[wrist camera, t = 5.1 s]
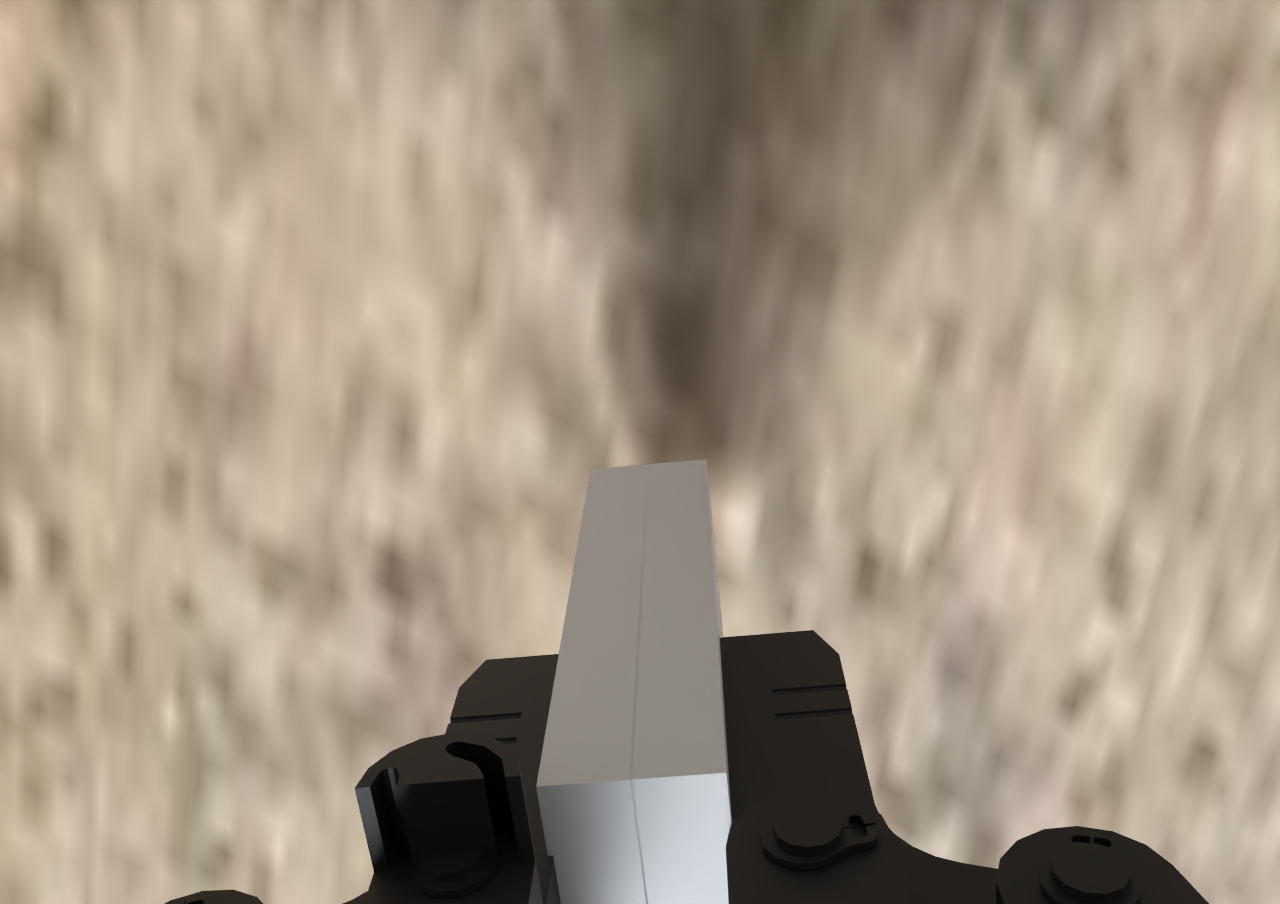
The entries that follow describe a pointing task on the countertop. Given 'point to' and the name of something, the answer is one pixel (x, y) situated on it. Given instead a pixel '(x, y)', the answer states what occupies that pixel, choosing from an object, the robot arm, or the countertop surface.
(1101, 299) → the countertop surface
